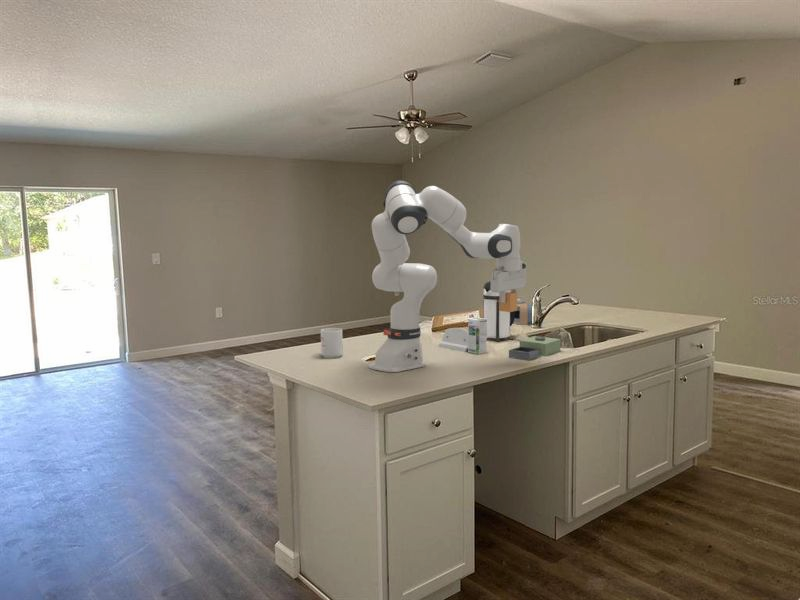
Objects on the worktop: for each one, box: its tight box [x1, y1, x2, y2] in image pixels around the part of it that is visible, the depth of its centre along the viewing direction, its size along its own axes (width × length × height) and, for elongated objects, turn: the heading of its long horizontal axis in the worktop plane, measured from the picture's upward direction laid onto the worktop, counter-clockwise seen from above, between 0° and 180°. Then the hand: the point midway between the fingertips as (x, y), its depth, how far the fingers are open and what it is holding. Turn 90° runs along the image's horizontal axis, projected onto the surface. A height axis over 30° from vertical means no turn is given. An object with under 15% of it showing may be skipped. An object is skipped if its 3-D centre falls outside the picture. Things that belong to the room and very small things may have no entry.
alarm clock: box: [510, 299, 533, 326], centre depth 327 cm, size 19×20×12 cm
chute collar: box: [508, 345, 541, 361], centre depth 244 cm, size 9×9×3 cm
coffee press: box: [482, 280, 515, 343], centre depth 281 cm, size 17×16×30 cm
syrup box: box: [467, 317, 488, 355], centre depth 253 cm, size 6×6×14 cm
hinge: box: [438, 327, 468, 353], centre depth 263 cm, size 17×5×10 cm, turn 41°
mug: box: [320, 327, 344, 359], centre depth 250 cm, size 12×9×11 cm
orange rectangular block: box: [499, 291, 518, 312], centre depth 234 cm, size 5×5×7 cm
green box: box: [519, 335, 561, 357], centre depth 253 cm, size 13×12×6 cm
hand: (508, 301), depth 234 cm, fingers closed on orange rectangular block, 5 cm apart
